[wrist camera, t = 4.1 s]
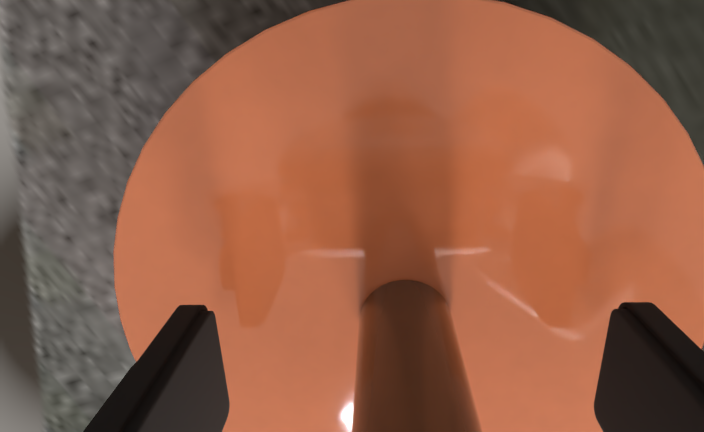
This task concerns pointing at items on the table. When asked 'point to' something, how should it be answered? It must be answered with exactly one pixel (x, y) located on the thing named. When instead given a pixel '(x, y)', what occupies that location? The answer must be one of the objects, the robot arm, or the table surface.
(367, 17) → the lid
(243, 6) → the table surface
